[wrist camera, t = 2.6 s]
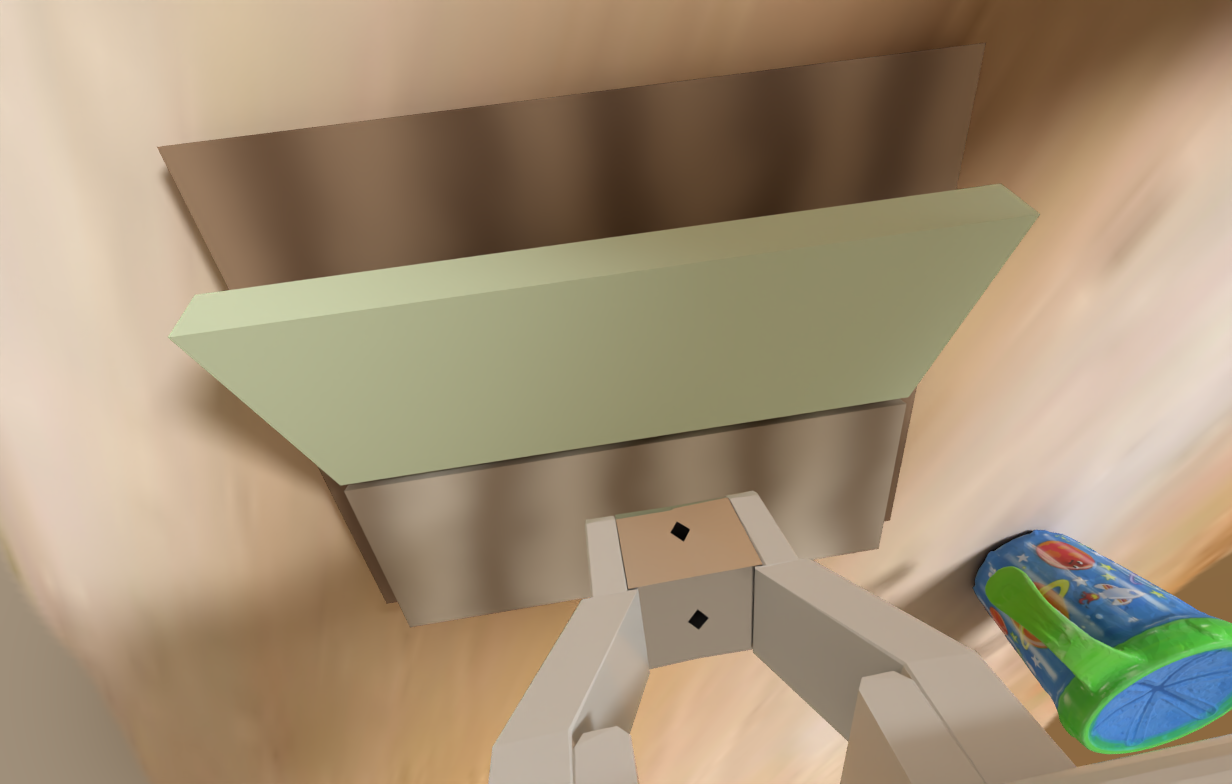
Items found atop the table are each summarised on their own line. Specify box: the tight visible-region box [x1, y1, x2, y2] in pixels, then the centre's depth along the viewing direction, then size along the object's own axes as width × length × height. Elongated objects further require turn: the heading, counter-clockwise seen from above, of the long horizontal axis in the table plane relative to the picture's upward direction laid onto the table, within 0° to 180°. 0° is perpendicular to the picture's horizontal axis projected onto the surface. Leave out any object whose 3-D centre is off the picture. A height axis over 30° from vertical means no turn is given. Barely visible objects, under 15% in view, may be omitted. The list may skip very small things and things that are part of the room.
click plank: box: [168, 184, 1040, 485], centre depth 19 cm, size 28×10×2 cm, turn 97°
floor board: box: [157, 43, 986, 627], centre depth 23 cm, size 32×25×3 cm
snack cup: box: [973, 530, 1232, 754], centre depth 31 cm, size 16×10×10 cm
